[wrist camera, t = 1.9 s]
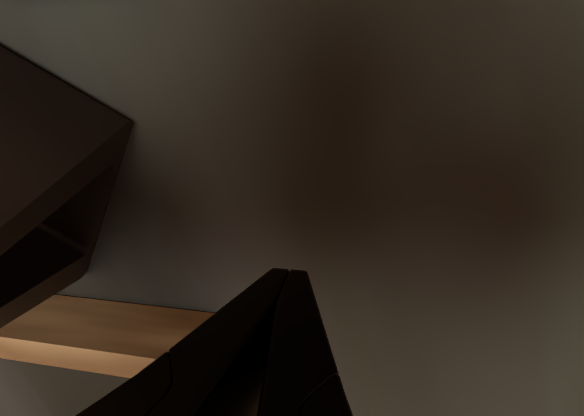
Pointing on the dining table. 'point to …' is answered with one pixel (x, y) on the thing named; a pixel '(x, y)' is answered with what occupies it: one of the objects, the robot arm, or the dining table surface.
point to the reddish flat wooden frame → (96, 334)
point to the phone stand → (50, 182)
